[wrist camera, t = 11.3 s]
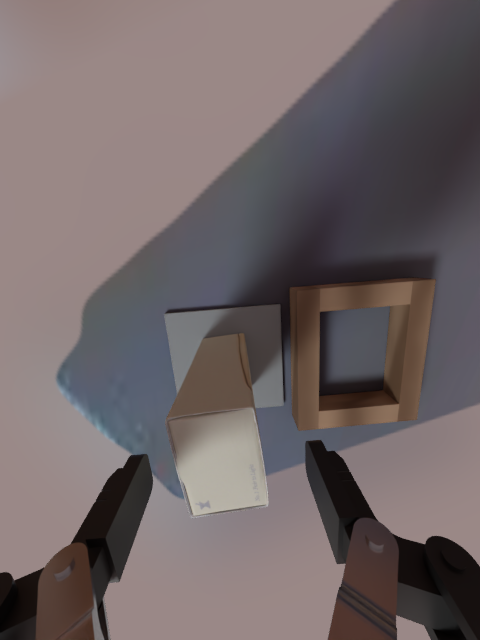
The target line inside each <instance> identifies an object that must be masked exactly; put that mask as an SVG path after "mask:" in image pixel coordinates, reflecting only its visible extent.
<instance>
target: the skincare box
mask: <svg viewBox="0 0 480 640" xmlns="http://www.w3.org/2000/svg"><path fill="white" fill-rule="evenodd" d="M165 425H166V429H167V433H168V437H169V442H170V445H171V449H172V453H173V457H174V461H175V466H176V470H177V473H178V476H179V480H180V483H181V487H182V490H183V494H184V497H185V501H186V504H187V507H188V511H189V515H190V517H191V518H195V517H200V516H208V515H216V514H223V513H230V512H237V511H243V510H249V509H256V508H262V507H267V506H268V505H269V500H268V489H267V481H266V473H265V466H264V459H263V453H262V447H261V440H260V434H259V428H258V422H257V416H256V409H255V403H254V396H253V389H252V382H251V375H250V368H249V361H248V355H247V348H246V342H245V336H244V333H240V334H232V335H224V336H218V337H211V338H204V339H202V341H201V343H200V346H199V348H198V350H197V352H196V354H195V357H194V359H193V361H192V363H191V366H190V368H189V370H188V372H187V374H186V377H185V379H184V381H183V383H182V385H181V388H180V390H179V392H178V394H177V397H176V399H175V401H174V403H173V405H172V408H171V410H170V412H169V414H168V416H167V418H166V421H165Z"/></svg>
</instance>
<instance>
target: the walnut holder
mask: <svg viewBox="0 0 480 640" xmlns="http://www.w3.org/2000/svg"><path fill="white" fill-rule="evenodd" d="M435 282H436V279H426V278H414V277H412V278H400V279H388V280H375V281H363V282H350V283H338V284H326V285H313V286H301V287H289V293H290V339H291V385H292V415H293V418H294V420H295V423H296V425H297V428H298V430H299V431H301V430H312V429H323V428H333V427H344V426H355V425H365V424H376V423H387V422H398V421H408V420H417V415H418V407H419V400H420V392H421V385H422V378H423V370H424V363H425V356H426V348H427V341H428V334H429V326H430V319H431V311H432V304H433V297H434V289H435ZM383 306H390V315H389V327H388V338H387V349H386V360H385V371H384V382H383V390H381V391H370V392H359V393H348V394H336V395H325V396H319V347H320V312H323V311H335V310H347V309H359V308H371V307H383Z"/></svg>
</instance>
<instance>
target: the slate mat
mask: <svg viewBox="0 0 480 640" xmlns="http://www.w3.org/2000/svg"><path fill="white" fill-rule="evenodd" d="M164 316H165V322H166V329H167V335H168V341H169V347H170V353H171V359H172V366H173V372H174V378H175V384H176V390H177V394H178V392H179V390H180V388H181V385H182V383H183V381H184V379H185V377H186V374H187V372H188V370H189V368H190V366H191V363H192V361H193V359H194V357H195V354H196V352H197V350H198V348H199V346H200V343H201V341H202V339H204V338H211V337H218V336H224V335H232V334H240V333H244V336H245V342H246V348H247V355H248V361H249V368H250V375H251V382H252V389H253V396H254V403H255V408H263V407H274V406H284V403H283V372H282V341H281V310H280V304H271V305H259V306H247V307H234V308H222V309H210V310H198V311H186V312H173V313H165V314H164Z"/></svg>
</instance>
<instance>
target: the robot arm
mask: <svg viewBox="0 0 480 640" xmlns="http://www.w3.org/2000/svg"><path fill="white" fill-rule="evenodd" d="M305 449H306V473H307V477H308V481H309V483H310V486H311V489H312V492H313V495H314V498H315V501H316V504H317V507H318V510H319V513H320V516H321V519H322V522H323V524H324V527H325V530H326V533H327V536H328V539H329V542H330V545H331V548H332V551H333V554H334V557H335V559H336V563H337V564H344V563H345V564H346V565H345V570H344V575H343V579H342V584H341V587H339V590H338V594H337V598H336V603H335V608H334V613H333V617H332V622H331V627H330V631H329V636H328V640H397V628H396V615H398V616H400V617H403V618H406V619H408V620H411V621H414V622H416V623H419V624H422V625H424V626H425V628H426V630H427V632H428V634H429V636H430V638H431V640H480V566H479V565H478V564H477V562H476V561H475V560H474V559H473V557H472V556H471V555H470V554H469V553H468V552H467V551H466V550H464V549H463V548H462V547H461V546H459V545H458V544H457V543H455V542H453V541H451V540H449V539H447V538H444V537H441V536H432V537H430V538H428V539H427V541H426V544H421V543H417V542H414V541H410V540H406V539H403V538H400V537H398V536H396V535H394V534H392V533H391V532H390V531H389V530H388V529H387V528H386V527H385V526H384V525H383V524H381V523H380V522H379V521H378V520H377V519H376V517H375V516H374V514H373V512H372V510H371V509H370V507H369V505H368V503H367V501H366V500H365V498H364V496H363V494H362V492H361V490H360V489H359V487H358V485H357V483H356V481H354V478H353V476H352V474H351V472H349V469H348V467H347V465H346V463H345V462H344V460H343V459H342V458H341V457H340V456H339V455H338V454H337V453H336V452H335V451H327V450H326V448H325V446H324V444H323V442H322V441H321V440H314V441H306V444H305ZM152 485H153V477H152V472H151V468H150V463H149V459H148V455H147V454H141V455H131V456H130V457H129V458H128V460H127V462H126V464H125V466H124V467H123V468H119V469H117V470H116V471H115V472H114V473H113V474H112V475H111V476H110V478H109V479H108V480H107V482H106V483H105V485H104V487H103V489H102V492H101V493H100V494H99V496H98V497H97V499H96V502H95V503H94V504H93V506H92V508H91V510H90V511H89V513H88V515H87V517H86V518H85V520H84V522H83V524H82V525H81V527H80V529H79V530H78V532H77V534H76V536H75V537H74V539H73V541H72V542H71V544H70V545H68V546H66V547H64V548H63V549H62V550H60V551H59V552H58V553H57V554H55V555H54V556H53V558H52V559H51V560H50V561H49V562H48V563H47V565H46V566H45V567H44V568H42V569H40V570H38V571H36V572H33V573H31V574H29V575H27V576H24V577H22V578H20V579H17V580H15V581H14V579H13V577H12V576H11V574H10V573H7V572H3V573H0V640H111V638H110V632H109V625H108V619H107V612H106V606H105V600H104V594H105V591H106V589H107V586H108V584H109V583H113V582H119V581H120V579H121V576H122V573H123V570H124V567H125V564H126V562H127V559H128V556H129V553H130V550H131V548H132V545H133V542H134V539H135V536H136V533H137V531H138V528H139V525H140V522H141V519H142V517H143V514H144V511H145V508H146V505H147V503H148V500H149V497H150V494H151V491H152Z"/></svg>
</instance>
